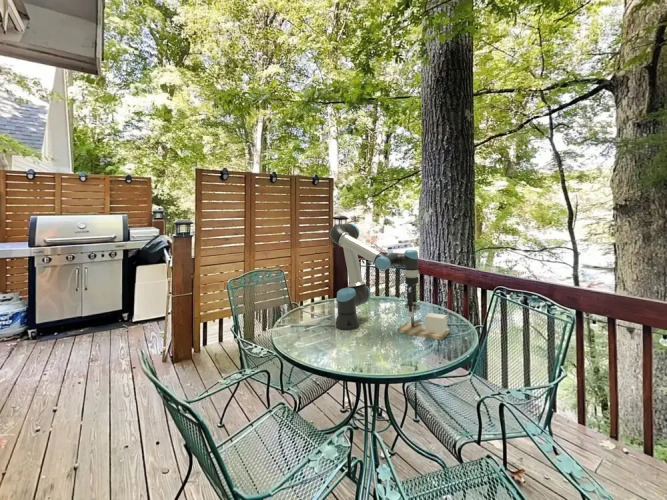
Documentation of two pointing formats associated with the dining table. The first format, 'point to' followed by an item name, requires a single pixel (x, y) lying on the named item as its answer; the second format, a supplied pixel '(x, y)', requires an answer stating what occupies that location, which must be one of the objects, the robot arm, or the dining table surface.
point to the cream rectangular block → (435, 323)
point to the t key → (415, 307)
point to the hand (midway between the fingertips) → (412, 314)
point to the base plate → (420, 331)
